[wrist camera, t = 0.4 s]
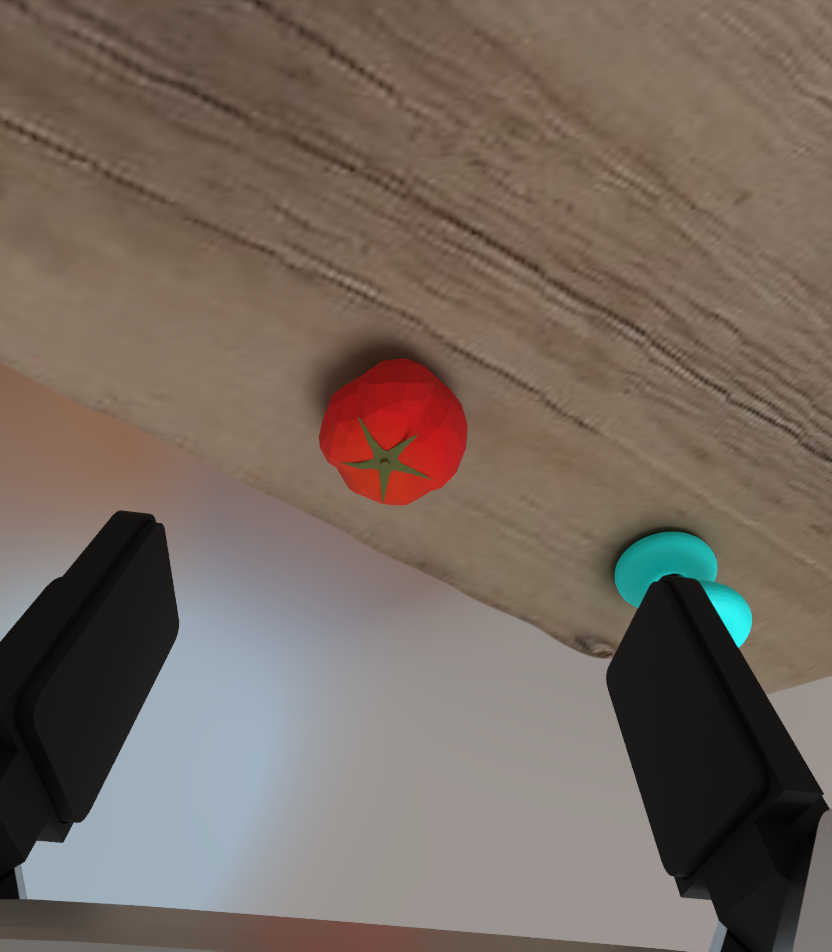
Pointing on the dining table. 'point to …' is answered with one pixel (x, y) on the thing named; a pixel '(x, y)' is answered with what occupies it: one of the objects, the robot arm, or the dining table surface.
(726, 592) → the donuts
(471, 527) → the dining table surface
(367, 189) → the dining table surface
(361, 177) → the dining table surface
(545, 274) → the dining table surface
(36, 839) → the robot arm
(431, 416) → the tomato
